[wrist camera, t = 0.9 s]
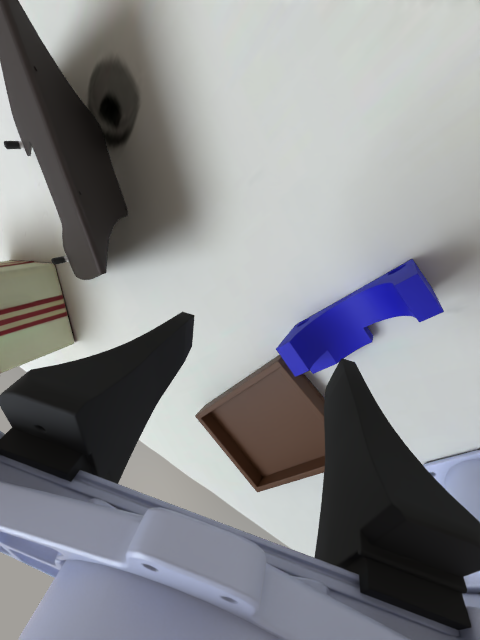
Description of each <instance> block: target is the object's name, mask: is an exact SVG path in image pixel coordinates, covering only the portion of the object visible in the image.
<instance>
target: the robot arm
mask: <svg viewBox="0 0 480 640" xmlns="http://www.w3.org/2000/svg"><path fill="white" fill-rule="evenodd" d="M193 326H194V315H192V314H188V313H185V312H182V313H180V314H178V315H177V316H175V317H173V318H172V319H170V320H168V321H167V322H165V323H163V324H162V325H160V326H158V327H156V328H155V329H153V330H151V331H150V332H148V333H146V334H144V335H142V336H140V337H138V338H136V339H134V340H132V341H130V342H128V343H125V344H123V345H121V346H118V347H116V348H113V349H111V350H108V351H105V352H102V353H99V354H96V355H93V356H90V357H87V358H83V359H79V360H76V361H72V362H67V363H63V364H59V365H54V366H48V367H43V368H38V369H32V370H30V371H29V372H27V373H26V374H25V375H24V376H22V377H21V378H20V379H19V380H17V381H16V382H15V383H14V384H13V385H11V386H10V387H9V388H8V389H7V390H5V391H4V392H3V393H2V394H1V395H0V406H1V409H2V410H3V412H4V414H5V415H6V417H7V419H8V421H9V422H10V424H11V426H12V428H11V429H10V430H9V431H8V432H7V433H6V434H4V433H3V432H1V431H0V552H2V553H4V554H6V555H8V556H10V557H13V558H14V559H17V560H19V561H21V562H23V563H25V564H27V565H29V566H31V567H33V568H35V569H37V570H40V571H42V572H44V573H46V574H48V575H50V576H52V577H54V578H55V579H54V580H53V582H52V584H51V585H50V587H49V589H48V591H47V592H46V594H45V595H44V597H43V599H42V600H41V602H40V604H39V605H38V607H37V609H36V610H35V612H34V614H33V615H32V617H31V619H30V620H29V622H28V623H27V625H26V627H25V628H24V630H23V632H22V634H21V635H20V637H19V638H18V640H480V450H476V451H472V452H469V453H465V454H461V455H457V456H453V457H449V458H445V459H441V460H437V461H434V462H430V463H426V464H424V465H422V464H421V463H420V461H419V460H418V459H417V458H416V457H415V456H414V454H413V453H412V452H411V451H410V450H409V448H408V447H407V446H406V445H405V444H404V442H403V441H402V440H401V438H400V437H399V436H398V434H397V433H396V432H395V430H394V429H393V427H392V426H391V425H390V423H389V422H388V420H387V419H386V417H385V415H384V414H383V412H382V411H381V409H380V408H379V406H378V404H377V403H376V401H375V399H374V397H373V396H372V394H371V392H370V390H369V388H368V387H367V385H366V383H365V381H364V379H363V377H362V375H361V373H360V371H359V369H358V367H357V365H356V364H355V362H352V361H349V360H346V359H342V358H341V360H340V362H339V364H338V366H337V368H336V369H335V371H334V373H333V375H332V377H331V379H330V381H329V383H328V385H327V386H326V392H325V401H324V430H325V469H324V482H323V493H322V503H321V512H320V521H319V529H318V537H317V544H316V551H315V558H313V557H311V556H308V555H305V554H303V553H300V552H297V551H295V550H292V549H289V548H286V547H284V546H281V545H278V544H276V543H273V542H271V541H268V540H265V539H263V538H260V537H257V536H255V535H252V534H249V533H246V532H244V531H241V530H239V529H236V528H233V527H231V526H228V525H225V524H223V523H220V522H217V521H215V520H212V519H209V518H207V517H204V516H201V515H199V514H196V513H193V512H191V511H188V510H186V509H183V508H180V507H178V506H175V505H172V504H169V503H167V502H164V501H162V500H159V499H156V498H153V497H151V496H148V495H145V494H143V493H140V492H138V491H135V490H132V489H130V488H127V487H124V486H122V485H119V484H118V482H119V480H120V478H121V476H122V474H123V471H124V469H125V467H126V465H127V463H128V460H129V458H130V456H131V454H132V452H133V450H134V448H135V446H136V444H137V441H138V440H139V438H140V436H141V434H142V432H143V430H144V428H145V426H146V424H147V422H148V420H149V418H150V416H151V414H152V412H153V410H154V408H155V406H156V405H157V403H158V401H159V400H160V398H161V397H162V395H163V394H164V392H165V391H166V389H167V388H168V386H169V385H170V383H171V382H172V380H173V379H174V377H175V376H176V374H177V373H178V371H179V370H180V368H181V366H182V365H183V363H184V362H185V360H186V358H187V356H188V353H189V351H190V349H191V347H192V339H193ZM430 472H434V473H430Z"/></svg>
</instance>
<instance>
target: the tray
mask: <svg viewBox="0 0 480 640" xmlns="http://www.w3.org/2000/svg"><path fill="white" fill-rule="evenodd" d="M324 401H325V399H324V397H323V396H322V395H321V394H320V393H319V392H318V390H317V389H316V388H315V387H314V386H313V384H312V383H311V382H310V381H309V380H308V378H307V377H306V376H305V375H304V374H301V375H298V376H296V377H295V376H294V374H293V373H292V371H291V370H290V369H289V367H288V366H287V364H286V363H285V361H284V360H283V359H282V357H281V356H280V355H279V356H277V357H276V358H274V359H273V360H271V361H270V362H268V363H267V364H266V365H264V366H263V367H261V368H260V369H258V370H257V371H255V372H254V373H252V374H251V375H249V376H248V377H246V378H245V379H243V380H242V381H240V382H239V383H237V384H236V385H235V386H233V387H232V388H230V389H229V390H227V391H226V392H224V393H223V394H221V395H220V396H218V397H217V398H215V399H214V400H212V401H211V402H209V403H208V404H207V405H205V406H204V407H203V408H202V409H201V410H200V411H199V412H198V413H197V414H196V415H195V417H196V418H197V419H198V420H199V421H200V423H201V424H202V425H203V426H204V428H205V429H206V430H207V431H208V432H209V434H210V435H211V436H212V437H213V439H214V440H215V441H216V442H217V444H218V445H219V446H220V447H221V448H222V450H223V451H224V452H225V453H226V455H227V456H228V457H229V458H230V459H231V461H232V462H233V463H234V464H235V466H236V467H237V468H238V469H239V470H240V472H241V473H242V474H243V475H244V477H245V478H246V479H247V480H248V482H249V483H250V484H251V485H252V486H253V488H254V489H255V490H256V491H257V492H260V491H263V490H267V489H270V488H273V487H277V486H280V485H283V484H287V483H290V482H293V481H297V480H300V479H303V478H306V477H310V476H313V475H316V474H320V473H323V472H324V469H325V430H324Z"/></svg>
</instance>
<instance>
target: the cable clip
mask: <svg viewBox="0 0 480 640" xmlns="http://www.w3.org/2000/svg"><path fill="white" fill-rule="evenodd" d="M442 312H444V311H443V309H442V307H441V305H440V303H439V301H438V299H437V297H436V295H435V293H434V291H433V289H432V287H431V286H430V284H429V283H428V281H427V280H426V278H425V277H424V275H423V274H422V272H421V271H420V269H419V268H418V266H417V265H416V264H415V262H414V261H413V259H411V260H409V261H407V262H406V263H404V264H402V265H400V266H398V267H397V268H395V269H393V270H391V271H390V272H388V273H386V274H384V275H383V276H381V277H379V278H377V279H376V280H374V281H372V282H370V283H369V284H367V285H365V286H363V287H362V288H360V289H358V290H356V291H355V292H353V293H351V294H349V295H348V296H346V297H344V298H342V299H341V300H339V301H337V302H335V303H333V304H332V305H330V306H328V307H326V308H325V309H323V310H321V311H319V312H318V313H316V314H314V315H312V316H311V317H309V318H307V319H305V320H304V321H302V322H300V323H298V324H297V325H295V326H294V328H293V329H292V330H291V331H290V332H289V334H288V335H287V336H286V337H285V339H284V340H283V341H282V342H281V343H280V345H279V346H278V347H277V348H276V350H277V351H278V353H279V354H280V356H281V357H282V359H283V360H284V361H285V363H286V364H287V366H288V367H289V369H290V370H291V371H292V373H293V374H294V376H295V377H296V376H298V375H301V374H303V373H305V372H307V371H309V370H311V372H312V373H313V374H314V373H316V372H318V371H321V370H323V369H325V368H328V367H330V366H332V365H335V364H337V363H338V362H339V361H340V360H341V358H342V359H343V358H345V357H346V356H348V355H349V354H351V353H352V352H354V351H355V350H357V349H359V348H361V347H363V346H365V345H367V344H369V343H371V342H372V340H373V334H372V333H371V331H370V330H369V329H368V327H367V326H369V325H371V324H373V323H376V322H379V321H382V320H385V319H388V318H392V317H397V316H413V317H415V318H417V320H418V321H419V322H421V321H424V320H426V319H428V318H431V317H433V316H435V315H437V314H440V313H442Z"/></svg>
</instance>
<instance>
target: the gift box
mask: <svg viewBox="0 0 480 640" xmlns="http://www.w3.org/2000/svg"><path fill="white" fill-rule="evenodd" d="M72 344H74V339H73V334H72V331H71V327H70V322H69V319H68V315H67V310H66V307H65V302H64V299H63V295H62V292H61V288H60V284H59V280H58V276H57V272H56V268H55V265H54V264H52V263H39V262H34V261H29V262H27V261H10V260H9V261H4V262H0V373H2V372H5V371H8V370H10V369H12V368H15V367H17V366H20V365H22V364H25V363H27V362H30V361H32V360H35V359H37V358H40V357H42V356H45V355H47V354H50V353H52V352H54V351H57V350H59V349H62V348H64V347H67V346H69V345H72Z"/></svg>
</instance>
